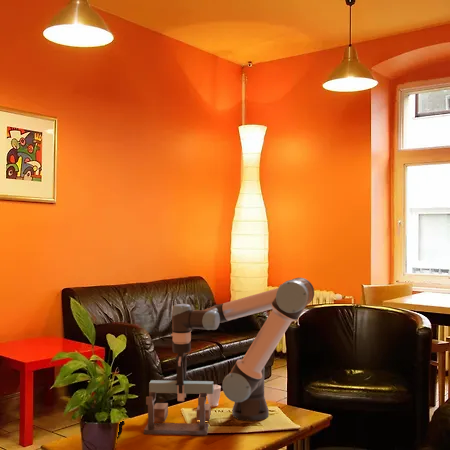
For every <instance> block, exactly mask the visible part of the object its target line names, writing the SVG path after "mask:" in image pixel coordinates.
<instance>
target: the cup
mask: <svg viewBox="0 0 450 450" xmlns="http://www.w3.org/2000/svg"><path fill="white" fill-rule="evenodd" d="M221 388H222V385H218V384H213V394H206V400H207V402H208V403H207V404H211V407H218V406H219V401H220V397H221V390H222V389H221ZM198 397H200V394H199V396H198Z"/></svg>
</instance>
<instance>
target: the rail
mask: <svg viewBox="0 0 450 450" xmlns="http://www.w3.org/2000/svg"><path fill="white" fill-rule="evenodd" d="M176 383H177V380H162V379H161V380H159V379H157V380H156V379H155V380H154V379H151V380H150V382H149V383H148V388H149V389H148V393H149V392H156V394H177V385H176ZM213 385H214V381H213V380H212V381H209V380H188V381H184V393H186V394H192V395H193V394H194V395H195V394H196V395H198V394H199V395H200V393H206V395H207V394H213Z"/></svg>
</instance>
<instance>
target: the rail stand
mask: <svg viewBox="0 0 450 450" xmlns="http://www.w3.org/2000/svg"><path fill="white" fill-rule="evenodd" d="M148 395H149V396H146V397H145V405H146V406H147V424H146V425H145V426H144V428H143V435H168V436H169V435H172V436H173V435H174V436H175V435H176V436H207V435H208V432H209V428H210V426H209V423H205V404H207V394H206V393H200V394H199V395H200V397H199V396H198V397H197V404H198V405H197V407H198V406H199V417H200V422H199V423H194V422H193V423H187V422H186V423H185V422H179V423H178V422H176V423H175V422H155V421H154V405H155V401H156V397H157V393H156V392H149V391H148ZM208 427H209V428H208ZM207 431H208V432H207Z"/></svg>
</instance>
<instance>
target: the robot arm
mask: <svg viewBox="0 0 450 450" xmlns="http://www.w3.org/2000/svg"><path fill="white" fill-rule="evenodd" d="M314 297H315V289H314V285H313V284H312V282H310V281H309V280H308V279H307V278H305V277H304V278H303V277H296V278H292V279H290V280H289V279H288V280H286V281H284V282H282V284H279V286H278V287H276V288H274V289H270V290H266V291H263V292H259V293H256V294H252V295H249V296H245V297H240V298H238V299H235V300H231V301H227V302H224V303H219V304H215V305H213V306H211V307H207V308H205V309H202V310H201V309H199V310H198V309H192V307H191V304H187V303H177V304H174V305H173V306H172V313H171V319H172V323H171V324H172V330H171V331H172V333H171V334H170V337H172V345H171V346H172V352H173V353H174V354H177V355H176V357H175V364H176V381H177V383H176V385H177V393H176V394H177V402H185V398H187V393H184V381H189V379H188V378H187V377H188V376H187V360H188V355H187V353H190V352H191V351H192V347H191V346H192V344H191V340H192V333H191V332H192V331H191V329H196V330H198V329H199V330H207V331H210V330H212V331H215V330H217V329H218V328H219V326H220V323H221V324H222V323H225V322H229V321H232V320H237V319H239V318H243V317H247V316H250V315H255V314H259V313H261V312H262V313H263V312H265V311H269V310H271V311H270V313H269V315H267V318H266V320H264V323H263V324H262V327H261V328H260V330H259V331H258V332H257V334H256V337H254V340H253V341H252V343H251V345H250V346H249V347H248V349H247V350H246V353H245V354H244V356H243V357H242V358H241V359H240V358H239V359H237V360H236V362H235V364H234V365H233V367H232V368H231V371H230V372H229V373H228V374H226V376H224V378H223V381H222V385H221V388H222V389H221V390H222V392H223V393H224V396H225V397H226V398H227V399H228V400H230V401H231V402H234V404H233V406H232V417H233V416H234V417H233V418H235V419H237V418H238V419H237V420H239V421H240V420H241V421H245V420H250V421H249V422H253V420H257V421H262V420H265V419H267V418H268V417H269V416H270V415H269V414H270V413H269V411H270V410H269V407H268V405H267V401H266V397H265V370H266V369H265V366H266V364H267V363H268V361H269V359H270V358H271V356H272V354H273V353H274V351H275V349H276V348H277V346H278V345H279V343H280V341H281V340H282V338H283V336H284V335H285V333H286V331H287V330H288V328H289V327H290V325H291V324H292V322H295V321H298V320H299V318H300V316H301V315H302V313H303V312H304V310H305V308H306V307H307V306H308V305H310V304H311V303H312V301H313V299H314ZM261 419H262V420H261Z"/></svg>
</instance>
